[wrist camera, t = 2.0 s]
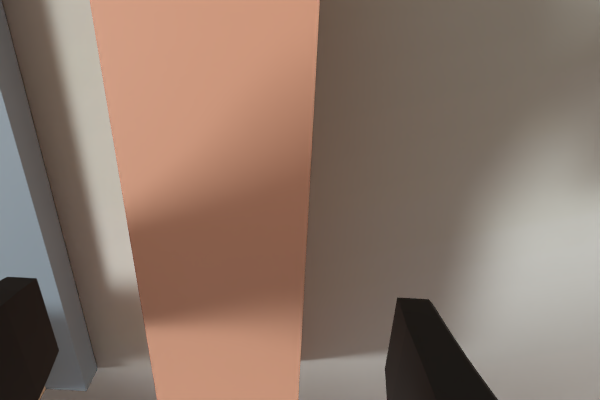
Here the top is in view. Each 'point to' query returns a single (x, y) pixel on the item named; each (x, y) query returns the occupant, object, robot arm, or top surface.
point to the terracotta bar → (215, 184)
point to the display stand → (37, 227)
